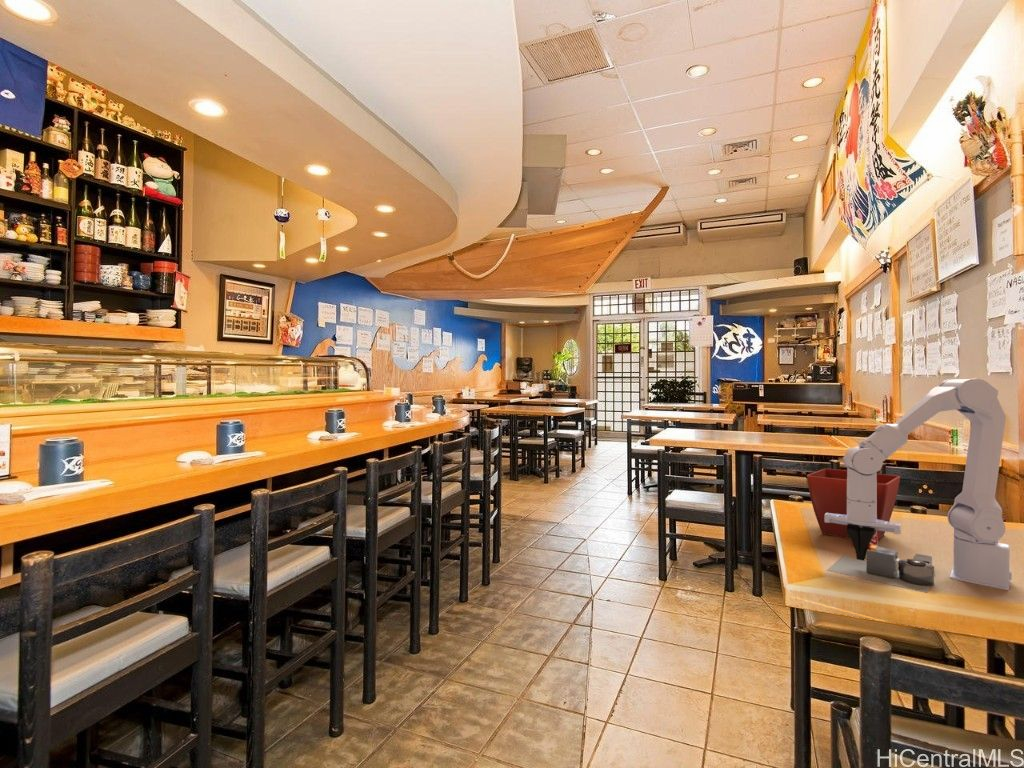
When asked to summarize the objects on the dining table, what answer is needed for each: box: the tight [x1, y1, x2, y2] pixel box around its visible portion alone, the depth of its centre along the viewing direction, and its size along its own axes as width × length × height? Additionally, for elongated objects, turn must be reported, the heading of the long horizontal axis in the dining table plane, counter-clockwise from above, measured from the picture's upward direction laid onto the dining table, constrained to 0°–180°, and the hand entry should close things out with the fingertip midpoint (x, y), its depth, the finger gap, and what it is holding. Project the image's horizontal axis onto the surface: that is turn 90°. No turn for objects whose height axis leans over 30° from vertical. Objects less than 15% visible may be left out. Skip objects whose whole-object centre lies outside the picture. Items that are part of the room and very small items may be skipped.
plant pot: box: [806, 468, 901, 540], centre depth 149 cm, size 19×19×17 cm
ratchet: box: [895, 553, 935, 587], centre depth 119 cm, size 10×16×4 cm, turn 136°
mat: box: [826, 555, 936, 594], centre depth 119 cm, size 18×14×1 cm
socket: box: [866, 545, 899, 578], centre depth 118 cm, size 5×5×5 cm
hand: (861, 558), depth 121 cm, fingers closed
